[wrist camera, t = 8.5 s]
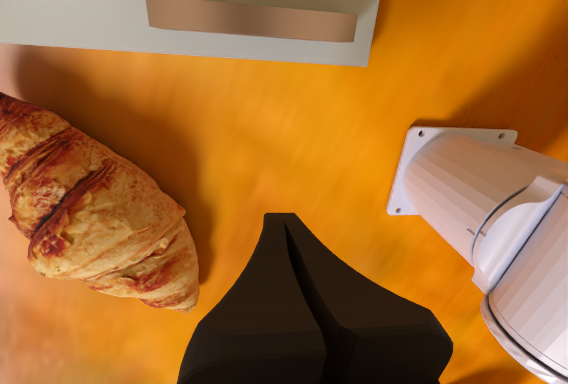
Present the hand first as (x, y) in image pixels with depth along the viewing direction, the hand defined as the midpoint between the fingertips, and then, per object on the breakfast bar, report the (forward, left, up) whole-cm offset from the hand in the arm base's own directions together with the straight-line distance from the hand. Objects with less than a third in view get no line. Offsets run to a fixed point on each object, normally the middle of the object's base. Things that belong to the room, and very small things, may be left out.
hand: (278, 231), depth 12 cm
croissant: (+11, +6, -11) cm, 17 cm away
